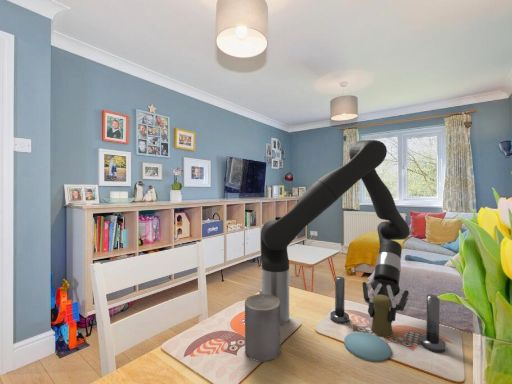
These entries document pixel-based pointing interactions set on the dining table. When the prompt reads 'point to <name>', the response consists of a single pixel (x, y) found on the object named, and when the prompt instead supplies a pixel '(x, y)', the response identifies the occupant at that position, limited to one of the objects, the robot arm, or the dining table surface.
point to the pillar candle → (262, 327)
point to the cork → (381, 316)
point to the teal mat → (367, 346)
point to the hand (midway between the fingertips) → (380, 318)
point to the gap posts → (432, 319)
